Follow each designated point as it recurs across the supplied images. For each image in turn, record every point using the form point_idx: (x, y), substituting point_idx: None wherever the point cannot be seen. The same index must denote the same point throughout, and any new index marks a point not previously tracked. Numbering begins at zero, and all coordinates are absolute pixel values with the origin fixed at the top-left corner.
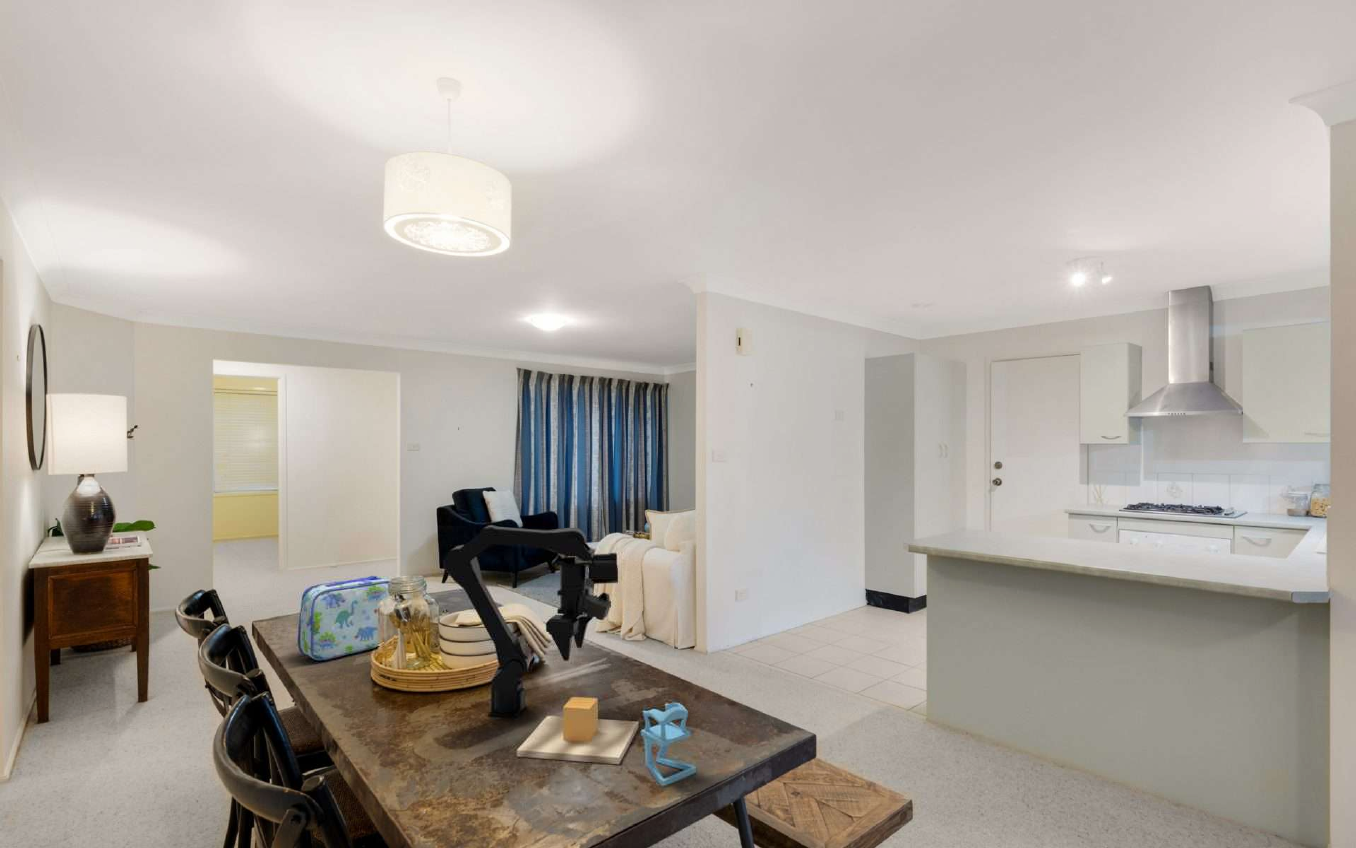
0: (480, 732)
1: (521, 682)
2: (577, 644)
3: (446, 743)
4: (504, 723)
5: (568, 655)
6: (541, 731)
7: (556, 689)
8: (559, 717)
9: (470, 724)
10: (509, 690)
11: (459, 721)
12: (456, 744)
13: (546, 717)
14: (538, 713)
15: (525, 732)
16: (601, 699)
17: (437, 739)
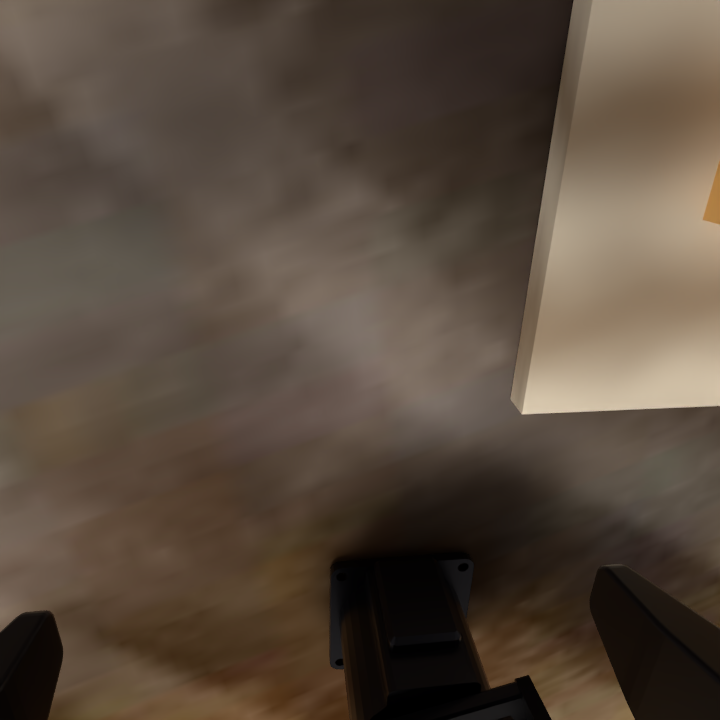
0: None
1: (418, 689)
2: (43, 696)
3: None
4: (527, 560)
5: (690, 613)
6: (713, 371)
7: (52, 519)
8: (544, 346)
9: (535, 658)
10: (487, 688)
11: None
12: None
13: (544, 411)
14: (408, 477)
15: (625, 446)
16: (122, 190)
17: None
